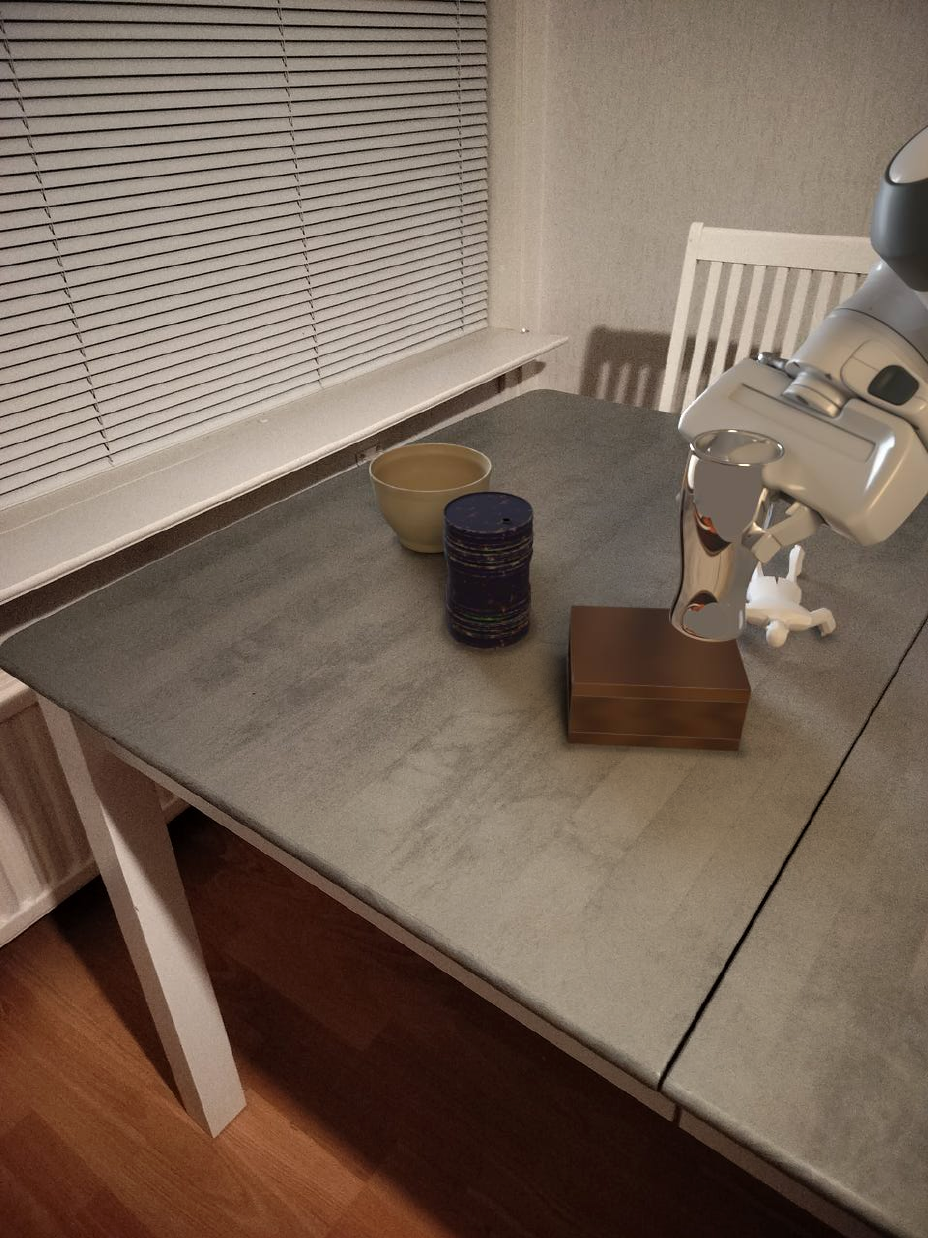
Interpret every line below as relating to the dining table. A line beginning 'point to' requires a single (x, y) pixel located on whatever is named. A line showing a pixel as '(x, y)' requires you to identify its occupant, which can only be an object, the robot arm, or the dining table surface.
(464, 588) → the dark blue oil drum
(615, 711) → the wooden keepsake box
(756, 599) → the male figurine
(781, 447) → the beer glass
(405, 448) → the planter bowl
